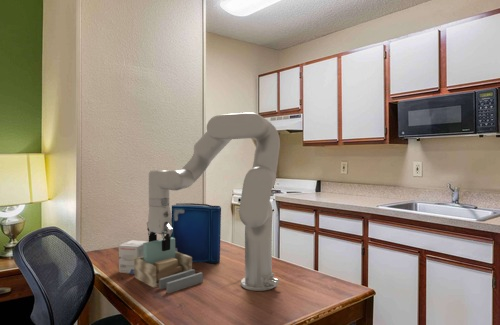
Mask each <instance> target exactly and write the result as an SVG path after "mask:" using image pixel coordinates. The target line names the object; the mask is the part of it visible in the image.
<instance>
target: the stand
mask: <svg viewBox="0 0 500 325" xmlns="http://www.w3.org/2000/svg"><path fill="white" fill-rule="evenodd" d="M200 283H201V284H202V283H204V273H203V272H201V271H200V272H198V273H196V270H195V269H194V268H192V269H191V270H188V271H185V272H181V273H178V274H174V275H171V276H168V277H164V278H161V279H159V286H158V289H159V290H164V289H166V290H165V292H166V293H167V294H168V295H169V294H171V293H174V292H177V291H180V290H184V289H186V288H190V287H192V286H193V287H194V286H195V285H198V284H200Z"/></svg>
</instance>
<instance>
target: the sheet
mask: <svg viewBox="0 0 500 325" xmlns="http://www.w3.org/2000/svg"><path fill="white" fill-rule="evenodd" d="M162 240H163V238H161V239H157V240H156V241H151V242H149V241H147V242H146V243H143V257H144V261H145V262H148V263H150V264H152V265H153V262H157V261H161V260H164V259H168V258H171V257H172V258H175V238H173V237H171V239H170V250H167V251H162Z"/></svg>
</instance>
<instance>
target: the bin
mask: <svg viewBox="0 0 500 325" xmlns="http://www.w3.org/2000/svg"><path fill="white" fill-rule="evenodd" d="M175 259H178V265H179V266H181V267H182V272H185V271H188V270H191V269H193V262H192V257H190V256H188V255H185V254H182V253H179V252H177V251H175ZM134 278H135V279H136V280H138V281H141V282H142V283H143V284H146V285H148V286H150V287H152V288H153V289H154V288H158V287H159V283H156V266H154V265H152V264H150V263H148V262H145V261H144V257H139V258H134Z"/></svg>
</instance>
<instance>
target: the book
mask: <svg viewBox="0 0 500 325" xmlns="http://www.w3.org/2000/svg"><path fill="white" fill-rule="evenodd" d="M171 220H172V229H173V232H172V236H171V237H173V238H175V251H177V252H179V253H182V254H185V255H188V256H190V257H192V263H205V264H208V263H210V264H217V263H218V262H220V261H221V233H222V232H221V231H222V230H221V229H222V228H221V226H222V224H221V223H222V222H221V221H222V207H221V205H212V204H211V205H210V204H207V203H194V202H193V203H191V202H190V203H189V202H188V203H175V204H173V205H171Z"/></svg>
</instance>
